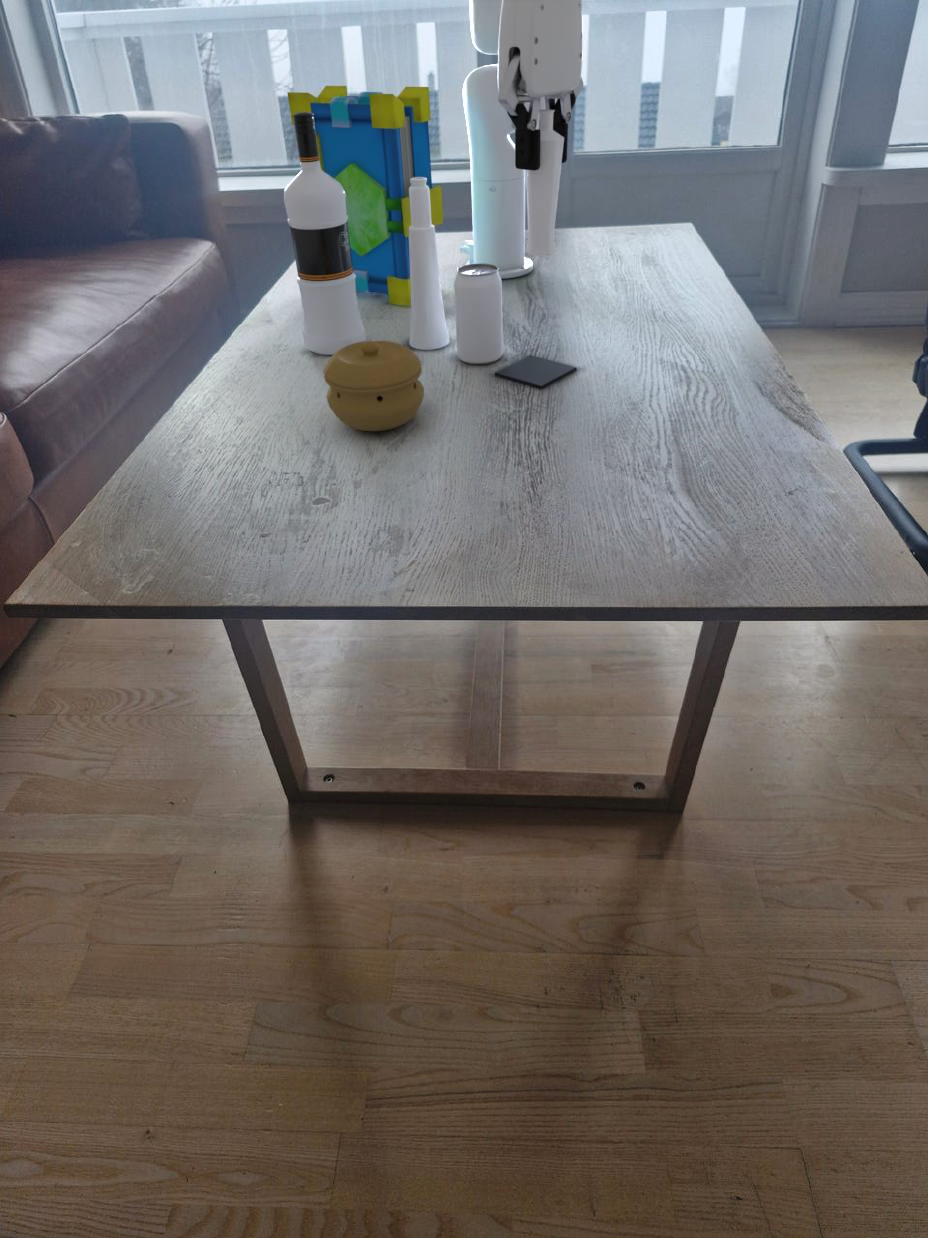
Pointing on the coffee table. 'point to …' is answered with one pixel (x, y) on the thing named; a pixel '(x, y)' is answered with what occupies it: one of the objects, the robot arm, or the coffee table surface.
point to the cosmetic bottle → (424, 273)
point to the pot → (374, 385)
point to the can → (478, 313)
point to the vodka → (322, 250)
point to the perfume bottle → (544, 188)
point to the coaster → (535, 371)
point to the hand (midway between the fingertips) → (541, 163)
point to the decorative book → (375, 175)
